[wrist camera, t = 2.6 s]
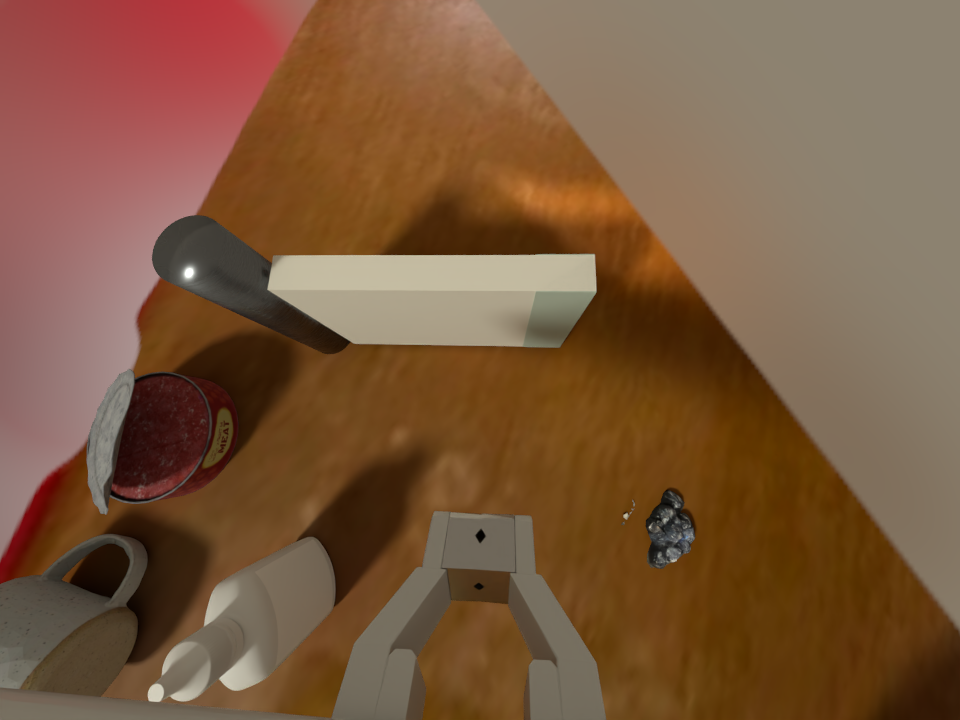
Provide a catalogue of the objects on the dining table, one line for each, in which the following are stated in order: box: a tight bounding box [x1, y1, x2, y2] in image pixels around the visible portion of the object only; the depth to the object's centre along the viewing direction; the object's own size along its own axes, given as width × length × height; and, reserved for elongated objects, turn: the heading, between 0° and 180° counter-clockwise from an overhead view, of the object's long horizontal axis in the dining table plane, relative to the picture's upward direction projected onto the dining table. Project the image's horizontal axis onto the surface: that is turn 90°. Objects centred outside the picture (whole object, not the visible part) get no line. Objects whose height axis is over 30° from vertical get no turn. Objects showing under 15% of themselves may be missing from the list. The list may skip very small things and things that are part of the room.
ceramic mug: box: [0, 534, 148, 697], centre depth 23 cm, size 11×8×8 cm
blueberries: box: [622, 490, 695, 569], centre depth 25 cm, size 7×8×2 cm
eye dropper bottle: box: [148, 537, 336, 702], centre depth 20 cm, size 4×6×12 cm
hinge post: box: [152, 215, 350, 354], centre depth 23 cm, size 4×4×14 cm
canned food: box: [87, 369, 239, 514], centre depth 26 cm, size 11×10×10 cm
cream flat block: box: [267, 254, 597, 348], centre depth 23 cm, size 17×2×11 cm, turn 88°
